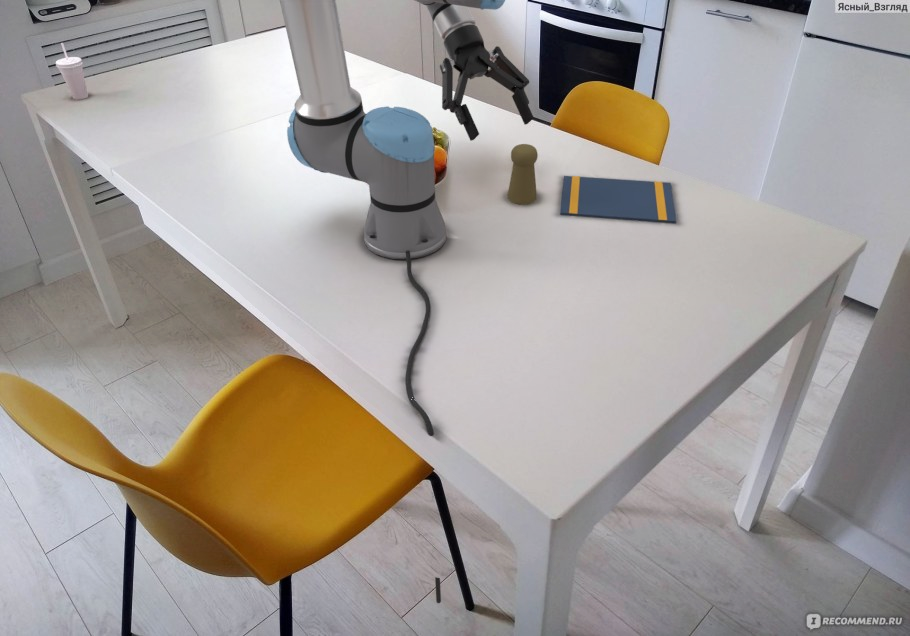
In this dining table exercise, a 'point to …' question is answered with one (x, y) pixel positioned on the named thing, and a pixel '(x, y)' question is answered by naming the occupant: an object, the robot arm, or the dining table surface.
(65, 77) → the smoothie
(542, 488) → the dining table surface
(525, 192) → the cork
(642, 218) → the towel
